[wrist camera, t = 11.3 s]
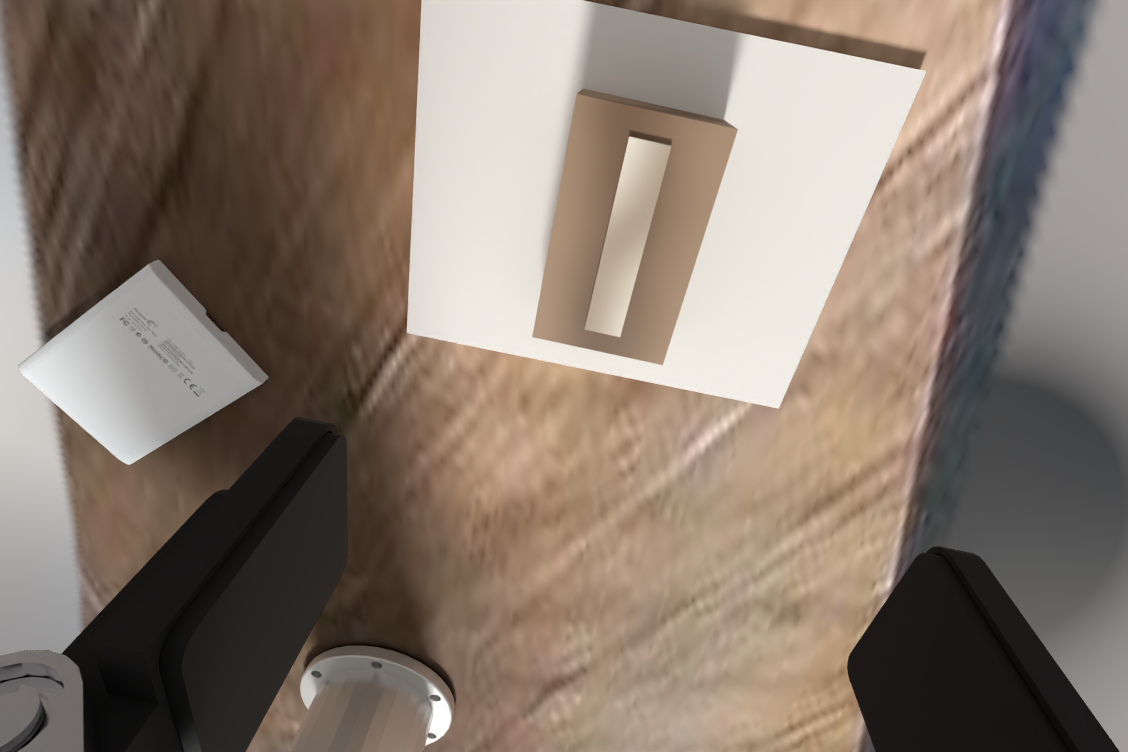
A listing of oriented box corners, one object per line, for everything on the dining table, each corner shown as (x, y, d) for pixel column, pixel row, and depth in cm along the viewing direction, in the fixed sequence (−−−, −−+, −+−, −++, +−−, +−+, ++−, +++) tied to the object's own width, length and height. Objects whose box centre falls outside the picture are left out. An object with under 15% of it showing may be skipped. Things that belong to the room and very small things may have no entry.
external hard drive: (38, 354, 35) (165, 255, 31) (145, 451, 38) (274, 373, 34) (13, 367, 33) (143, 265, 29) (127, 467, 36) (259, 387, 32)
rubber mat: (776, 402, 31) (778, 408, 30) (410, 328, 31) (406, 332, 30) (919, 70, 23) (926, 71, 22) (427, -31, 23) (423, -33, 22)
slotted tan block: (723, 119, 24) (738, 130, 21) (658, 332, 29) (663, 367, 26) (582, 88, 24) (575, 94, 21) (542, 307, 29) (531, 339, 26)
